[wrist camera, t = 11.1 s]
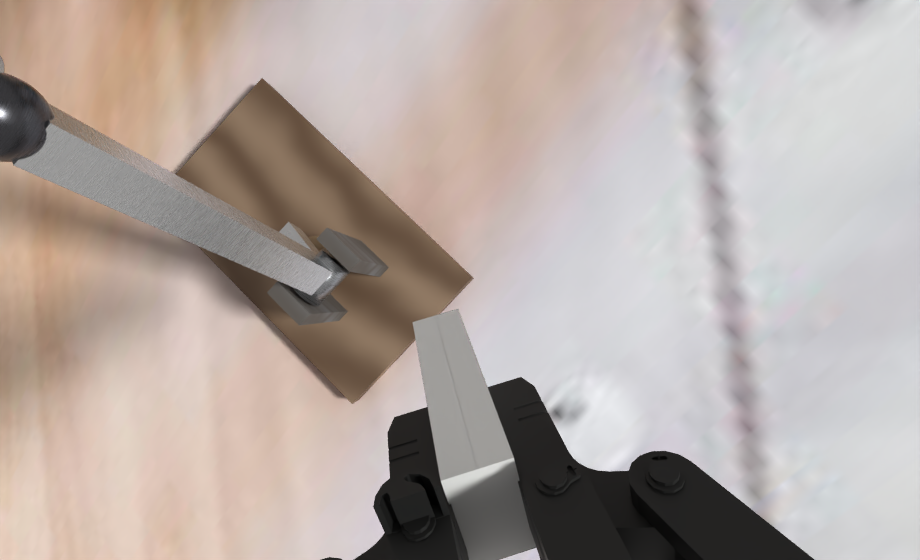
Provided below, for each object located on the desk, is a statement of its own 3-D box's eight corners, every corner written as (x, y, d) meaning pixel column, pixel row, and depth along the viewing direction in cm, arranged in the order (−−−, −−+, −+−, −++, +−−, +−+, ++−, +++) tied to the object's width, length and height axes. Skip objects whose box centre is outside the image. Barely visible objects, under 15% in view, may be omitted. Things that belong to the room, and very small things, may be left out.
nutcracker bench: (272, 87, 49) (207, 29, 39) (473, 278, 46) (462, 271, 36) (167, 203, 50) (76, 178, 40) (358, 399, 47) (314, 428, 37)
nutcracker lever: (312, 225, 43) (-45, 1, 22) (358, 280, 39) (-22, 73, 18) (284, 255, 43) (-97, 62, 22) (327, 313, 39) (-85, 146, 18)
